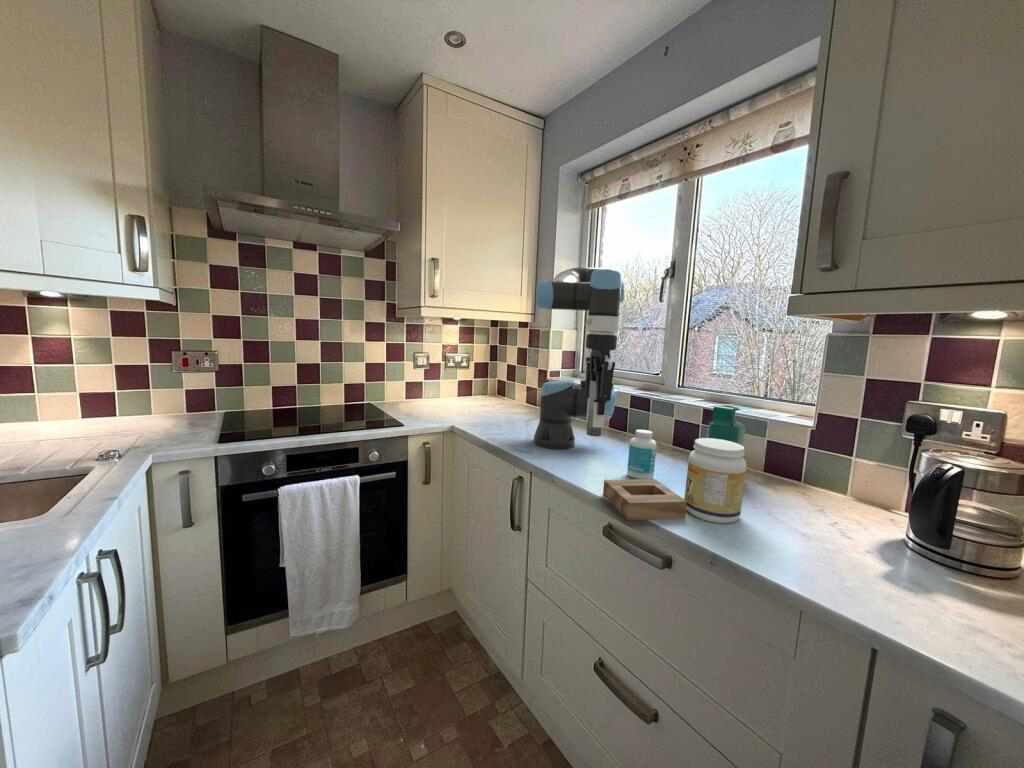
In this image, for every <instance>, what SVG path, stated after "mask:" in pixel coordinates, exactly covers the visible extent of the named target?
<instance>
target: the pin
mask: <svg viewBox="0 0 1024 768" xmlns="http://www.w3.org/2000/svg"><path fill="white" fill-rule="evenodd" d="M594 400H596V380H591V382H590V395H589V408H588V421H587V423H586V435H587V436H591V437H595V438H597V437H601V436H602V432H603V427H593V414H594Z"/></svg>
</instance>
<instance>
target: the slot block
mask: <svg viewBox="0 0 1024 768" xmlns="http://www.w3.org/2000/svg"><path fill="white" fill-rule="evenodd" d="M602 491H603V492H602V496H603V497H604V498H605V499H606V500H607V501H608V502H609V503H610V504H611V505H612V506H613V507H614V508H615V509H616V510H617V511H618V512H619V513H620V514H621V515H622V516H623V517H624V518H625V519H626V520H627V521H640V520H647V521H648V520H669V519H671V520H672V519H686V514H687V510H686V506H687V501H686V500H684V498H683V497H681V496H680V495H678V494H677V492H674V491H672V489H670V488H669V487H667V486H666V485H664V484H663V483H661V482H660V481H658V480H657V479H656V478H655V479H654V478H652V479H604V480H603V490H602Z"/></svg>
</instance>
